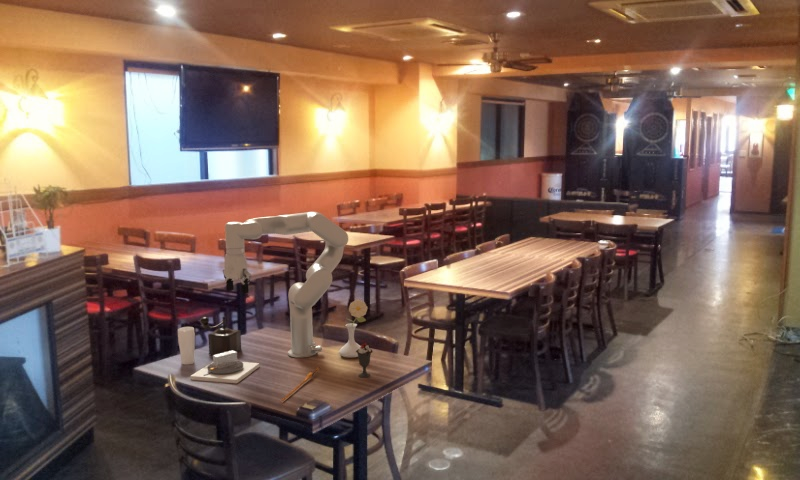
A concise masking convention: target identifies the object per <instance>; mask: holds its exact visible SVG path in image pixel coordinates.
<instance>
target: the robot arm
mask: <svg viewBox="0 0 800 480" xmlns="http://www.w3.org/2000/svg"><path fill="white" fill-rule="evenodd" d="M309 232H312V233H314V234H315V235H316V236H317V237H319V238H320V239H321V240H323V241H324V243H325V246H324V250H323V251H322V253H321V254H320V255H319V257H317V259H316V260H315V261H314V262H313V263H312V265H310V267H309V268H308V269H307V271H306V273H305V278H306V281H304V282H299V281H298V282H295V283H294V284H292V285H291V286H290V288H289V289H288V305H289V318H290V343H291V344H290V346H291V348H290V349H289V350H288V351H287V355H288V356H289V357H291V358H295V359H297V358H300V359H301V358H309V357H313V356H316V355H317V353H318V352H321V353H322V350H323V349H322V346H321V345H316V342H315V341H314V334H313V331H314V330H313V309H312V307H313V306H315V305H316V303H317V302H319V300H320V299H321V297H323V295H324V294H325V293H326V292H327V290H328V289H330V287H331V284H332V282H333V275H332V273H333V271H334V270H335V269H336V268H337V266H338V265H339V263H340V262H341V260H342V258H343V255H344V250H345V247H346V245H348V242H349V235H348V233H347V231H346V230H344V229H343V228H342V227H340V226H338V224H336V223H335V222H333V221H332V220H331V219H329V218H328V217H327V216H326V215H324V214H322V213H320V212H317V211H308V212H307V211H306V212H299V213H290V214H281V215H276V216H275V215H274V216H264V217H263V216H262V217H255V218H250V219H246V220H245V221H244V222H241V221H229V222H227V223H225V224H224V233H225V236H224V237H225V251H226V252H225V253H226V254H225V256H224V265H223V266H224V268H223V269H222V273H223V277H224V281H225V284H226V291H227V292H229V291H234V280H235V281H240V282H241V285H240V290H241V294H242V295H244V294H249V284H250V281H251V277H252V273H250V272H249V271H248V263H247V257H246V252H245V240H258V239H260V238H261V237H262V236H263V235H275V234H277V235H282V236H283V235H284V236H289V235H296V234H303V233H304V234H305V233H309Z"/></svg>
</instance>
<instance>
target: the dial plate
mask: <svg viewBox="0 0 800 480" xmlns="http://www.w3.org/2000/svg"><path fill="white" fill-rule="evenodd" d="M241 362H242V363H243V369H242V370H240V371H238V372H235V373H230V374H212V373H210V372H208V366H209V365H210V364H212V363H213V361H212V362H211V363H209V364H207V365H206V366H203V367H202V368H201V369H199V370H198V371H196V372H195V373H193V374H191V375H190V380H191V381H202V382H203V381H206V382H217V383H226V384H227V383H228V384H230V383H231V384H238V383H239V382H241V381H242V380H244V379H245V378H246V377H247V376H249V375H251V374H252V373H253V372H254V371H256V370H257V369H259V368H260V363H259V362H247V361H241Z"/></svg>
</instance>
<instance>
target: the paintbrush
mask: <svg viewBox="0 0 800 480" xmlns="http://www.w3.org/2000/svg"><path fill="white" fill-rule="evenodd" d="M319 370H321V367H320V366H318V367H317V368H316V369H314V371H310V372H309V373H307V375H306V377H305V379H304V380H303V381H301V382H300V383H299V384H298V385H297V386H296V387H295V388H293V390H291V391H290V392H289V393H288V394H286V395H285V397H283V398H282V399H280V402H281V403H282V404H283V403H284V402H285V401H286V400H287V399H289V398H290V397H291V396H292V395H294V393H296V392H297V391H298V390H299V389H300V388H301V387H303V385H305V384H307V383H308V382H310V381H311V379H313V376H314V375H316V373H317V372H319Z"/></svg>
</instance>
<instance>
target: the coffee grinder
mask: <svg viewBox="0 0 800 480" xmlns="http://www.w3.org/2000/svg"><path fill="white" fill-rule="evenodd" d="M226 321H227V320H226V316H222V320H221V322H220V323H218V324H216V325H215V326H210V324H209V323H210V319H209V317H207V316H202V317H201V318H200V320H199V323H200V324H201V325H202V328H203V329H210V330H212V329H214V330H213V332H210V333H208V334H207V336H208V337H207V338H208V355H210V356H213V355H216V354H220V353H224V352H228V351H232V350H233V351H236V352H237V354H238V353H239V352H241V351H242V336H241V335H242V334H241V330H238V329H232V328H228V327H226ZM220 326H222V327H221V328H220ZM216 328H217V329H216Z"/></svg>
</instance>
